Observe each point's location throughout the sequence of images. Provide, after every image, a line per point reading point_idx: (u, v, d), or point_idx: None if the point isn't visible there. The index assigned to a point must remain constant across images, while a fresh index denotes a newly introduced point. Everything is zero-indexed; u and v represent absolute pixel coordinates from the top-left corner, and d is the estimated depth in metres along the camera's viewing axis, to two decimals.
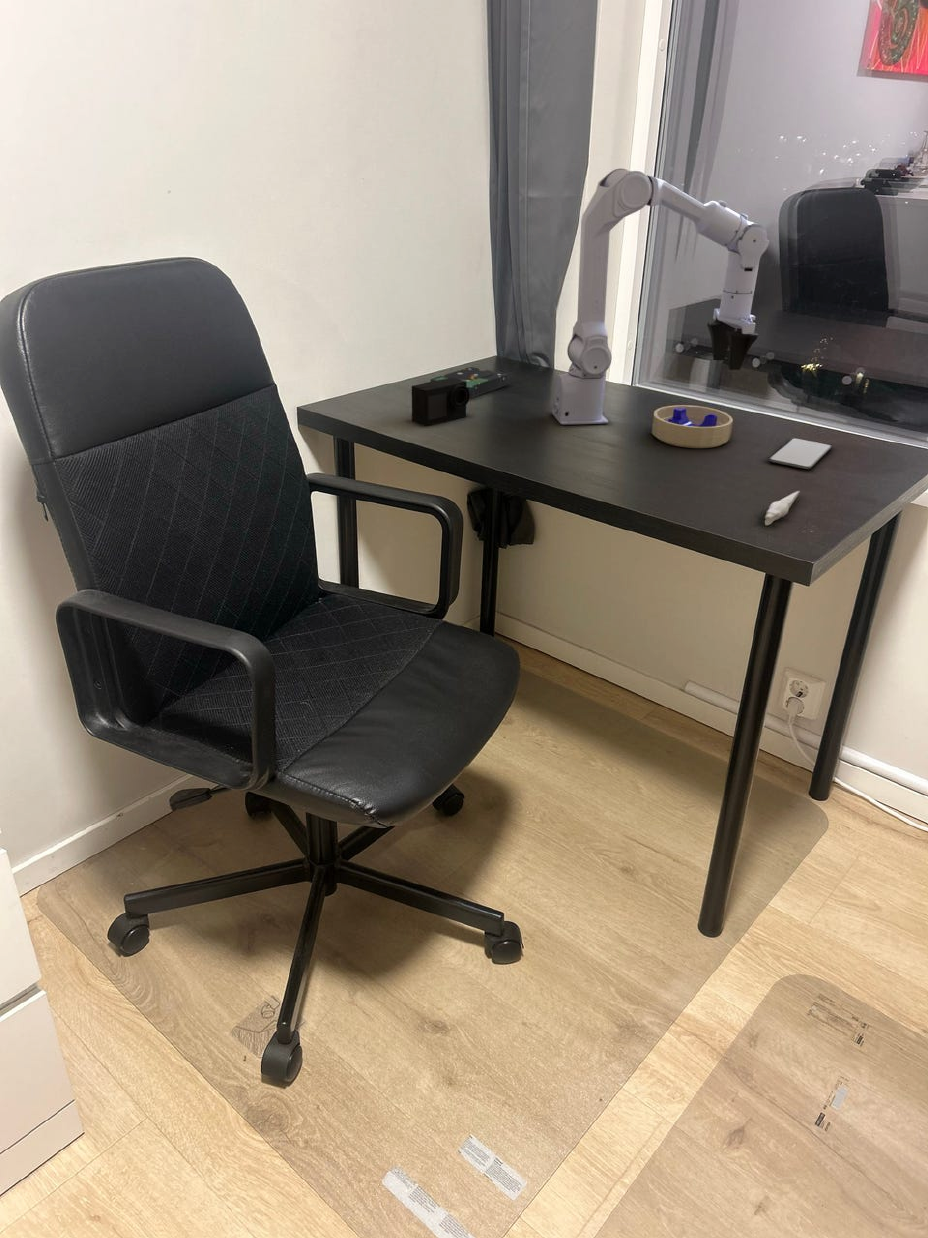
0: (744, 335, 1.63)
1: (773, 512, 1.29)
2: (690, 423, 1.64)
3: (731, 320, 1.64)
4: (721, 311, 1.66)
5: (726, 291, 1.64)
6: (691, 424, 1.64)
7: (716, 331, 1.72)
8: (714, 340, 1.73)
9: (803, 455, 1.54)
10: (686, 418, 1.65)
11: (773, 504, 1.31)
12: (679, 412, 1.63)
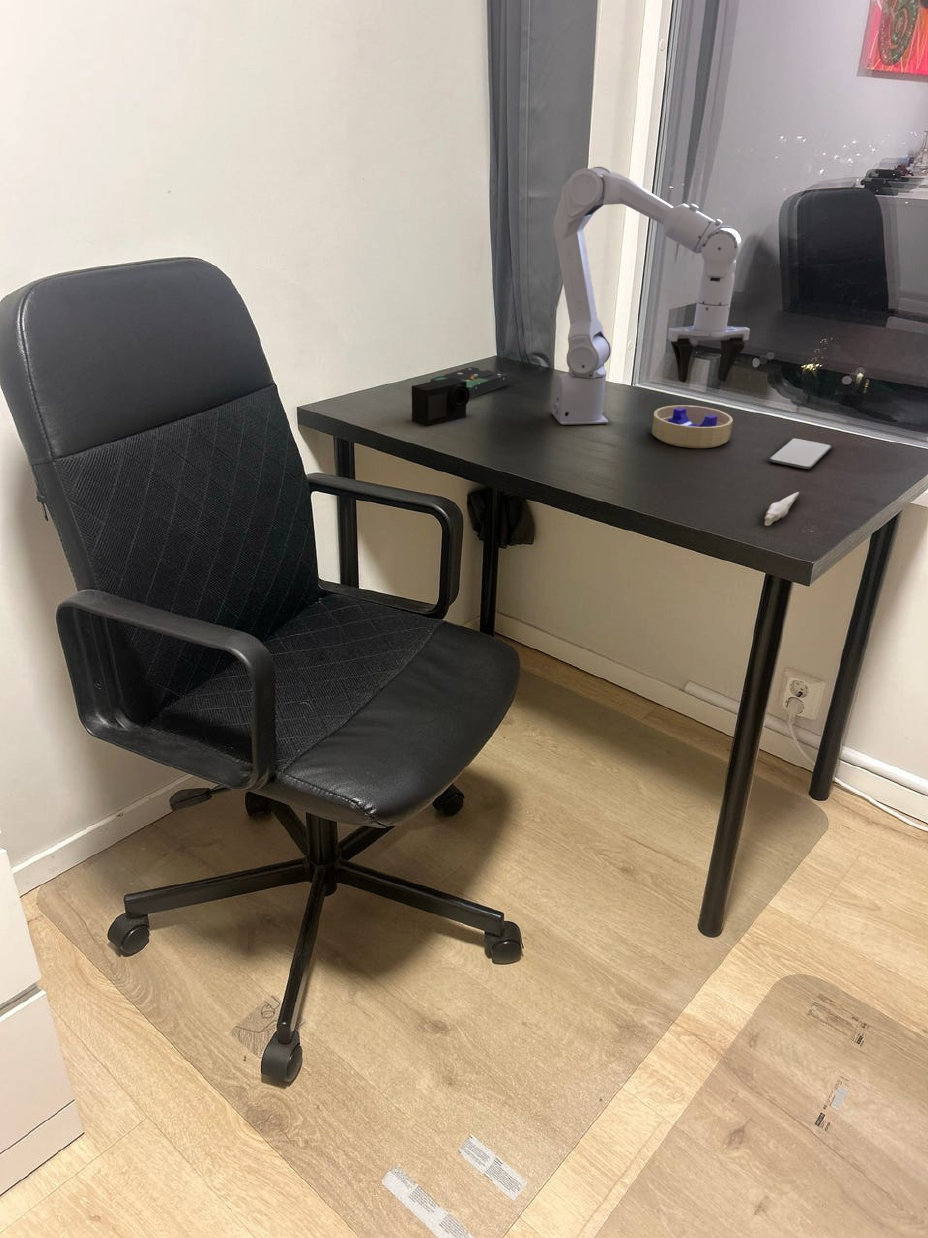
0: (674, 342, 1.57)
1: (773, 513, 1.29)
2: (690, 423, 1.64)
3: None
4: None
5: None
6: (691, 424, 1.64)
7: (722, 347, 1.60)
8: None
9: (803, 455, 1.54)
10: (686, 418, 1.65)
11: (773, 505, 1.31)
12: (679, 412, 1.63)
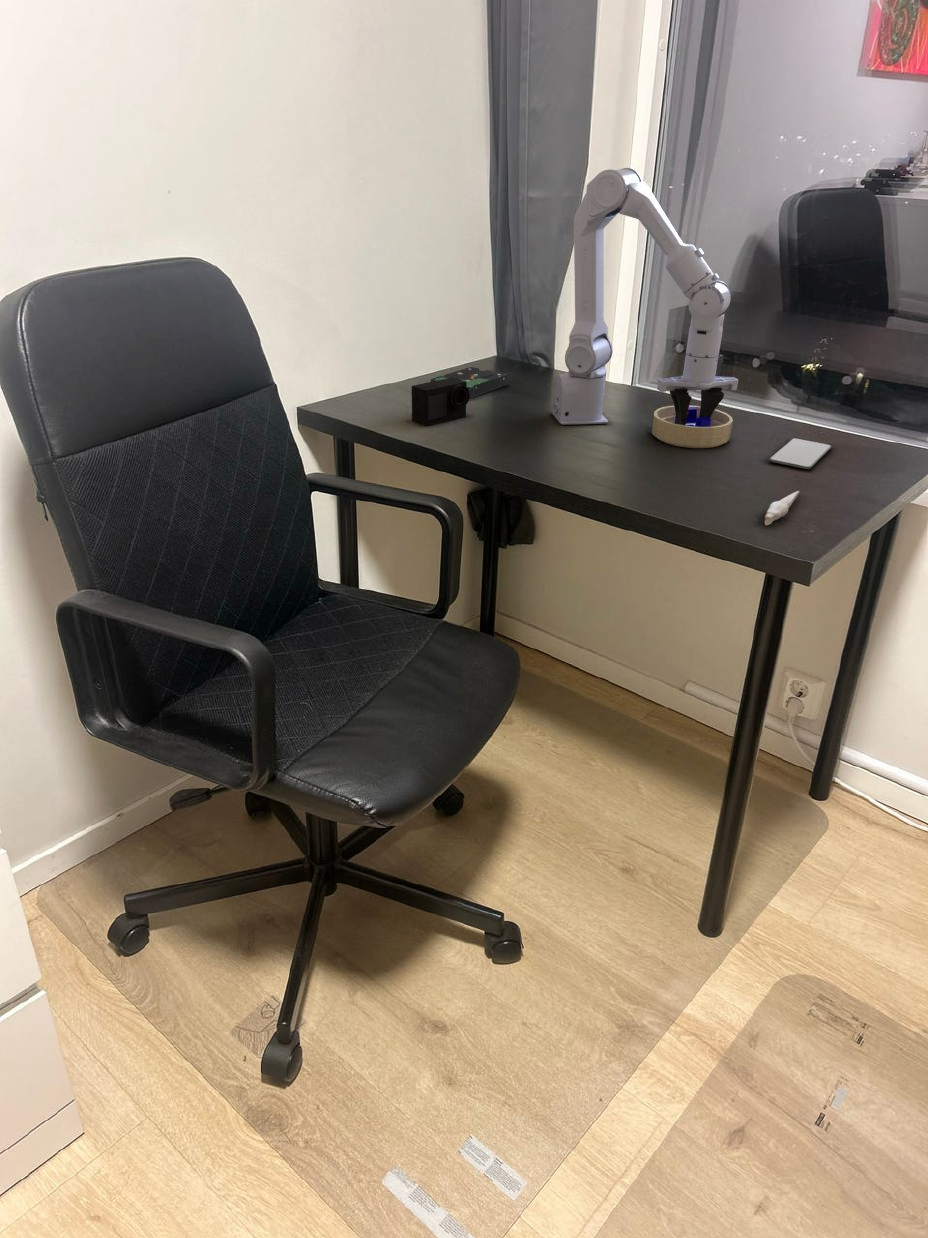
0: (673, 392, 1.60)
1: (773, 512, 1.29)
2: (695, 424, 1.64)
3: None
4: None
5: None
6: (695, 425, 1.64)
7: (702, 396, 1.62)
8: None
9: (803, 455, 1.54)
10: (694, 418, 1.64)
11: (773, 504, 1.31)
12: None
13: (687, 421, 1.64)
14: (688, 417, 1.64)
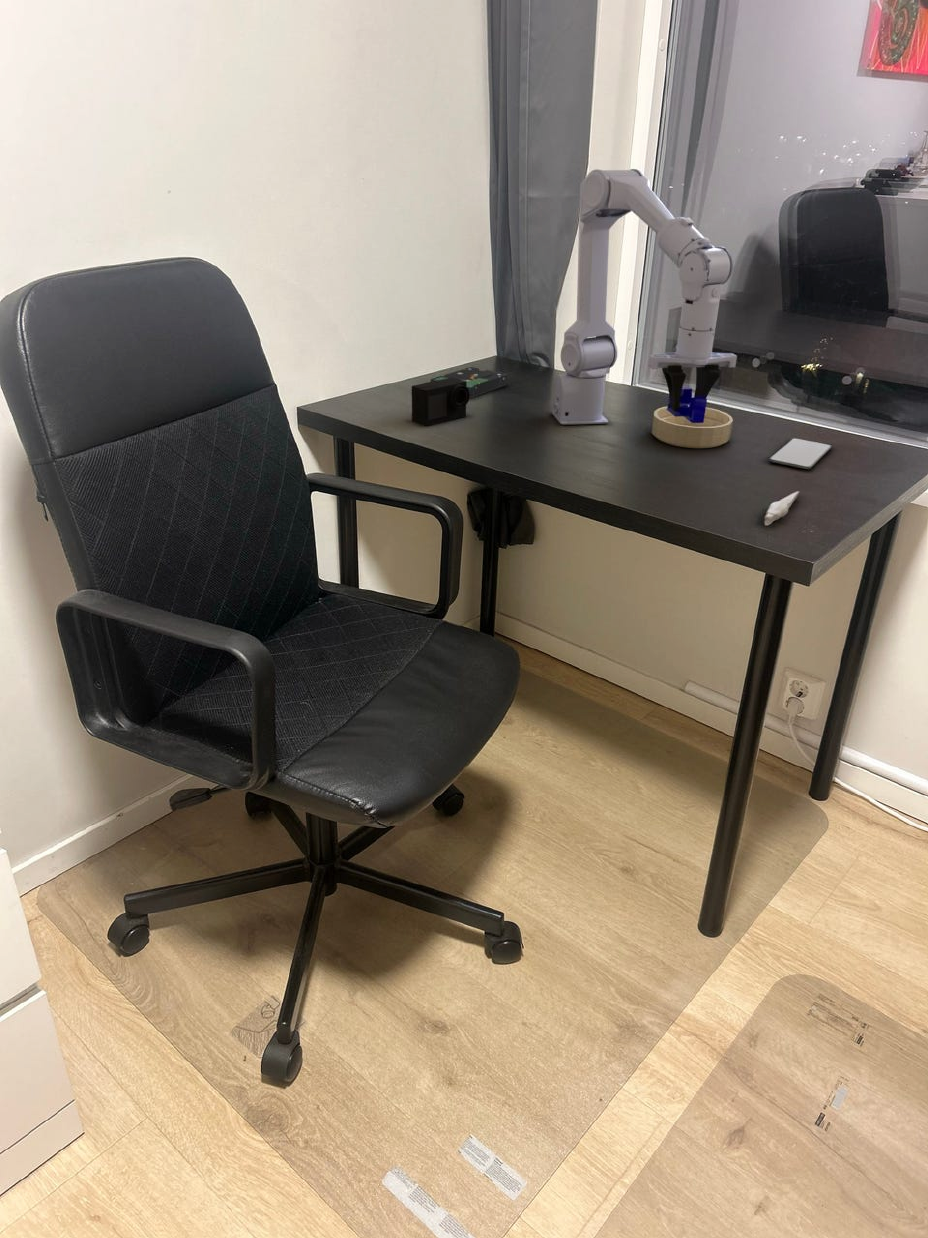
0: (665, 369, 1.46)
1: (773, 512, 1.29)
2: (690, 405, 1.50)
3: None
4: None
5: None
6: (690, 406, 1.50)
7: (697, 374, 1.49)
8: (696, 384, 1.50)
9: (803, 455, 1.54)
10: (689, 399, 1.51)
11: (773, 504, 1.31)
12: None
13: (681, 402, 1.51)
14: (682, 397, 1.51)
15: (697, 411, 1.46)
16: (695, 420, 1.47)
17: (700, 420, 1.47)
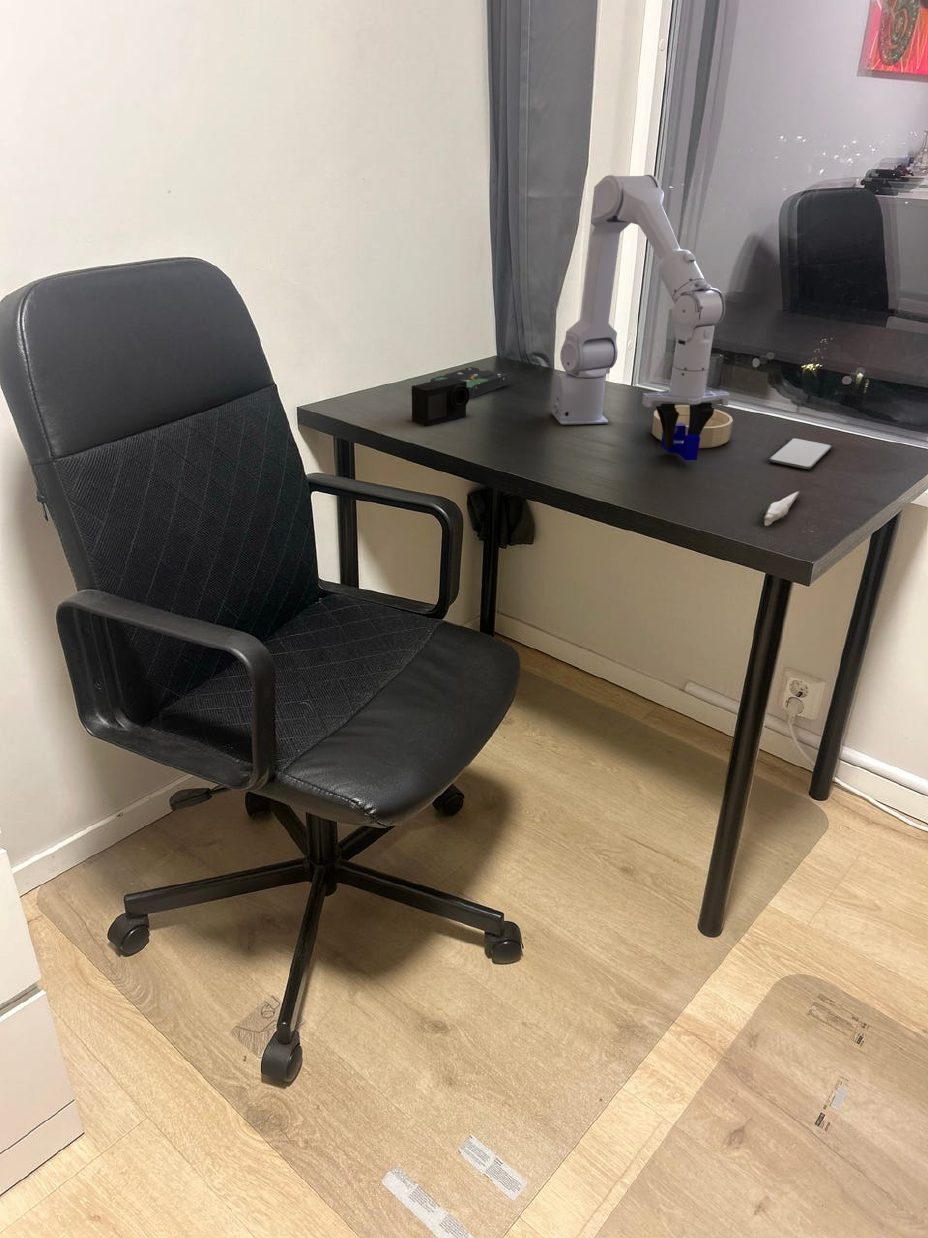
0: (659, 407, 1.48)
1: (773, 513, 1.29)
2: (684, 441, 1.52)
3: None
4: None
5: None
6: None
7: (691, 412, 1.50)
8: (689, 421, 1.51)
9: (803, 455, 1.54)
10: (683, 435, 1.53)
11: (773, 505, 1.31)
12: None
13: (675, 438, 1.52)
14: (676, 434, 1.53)
15: (691, 448, 1.48)
16: (688, 457, 1.49)
17: (693, 457, 1.49)
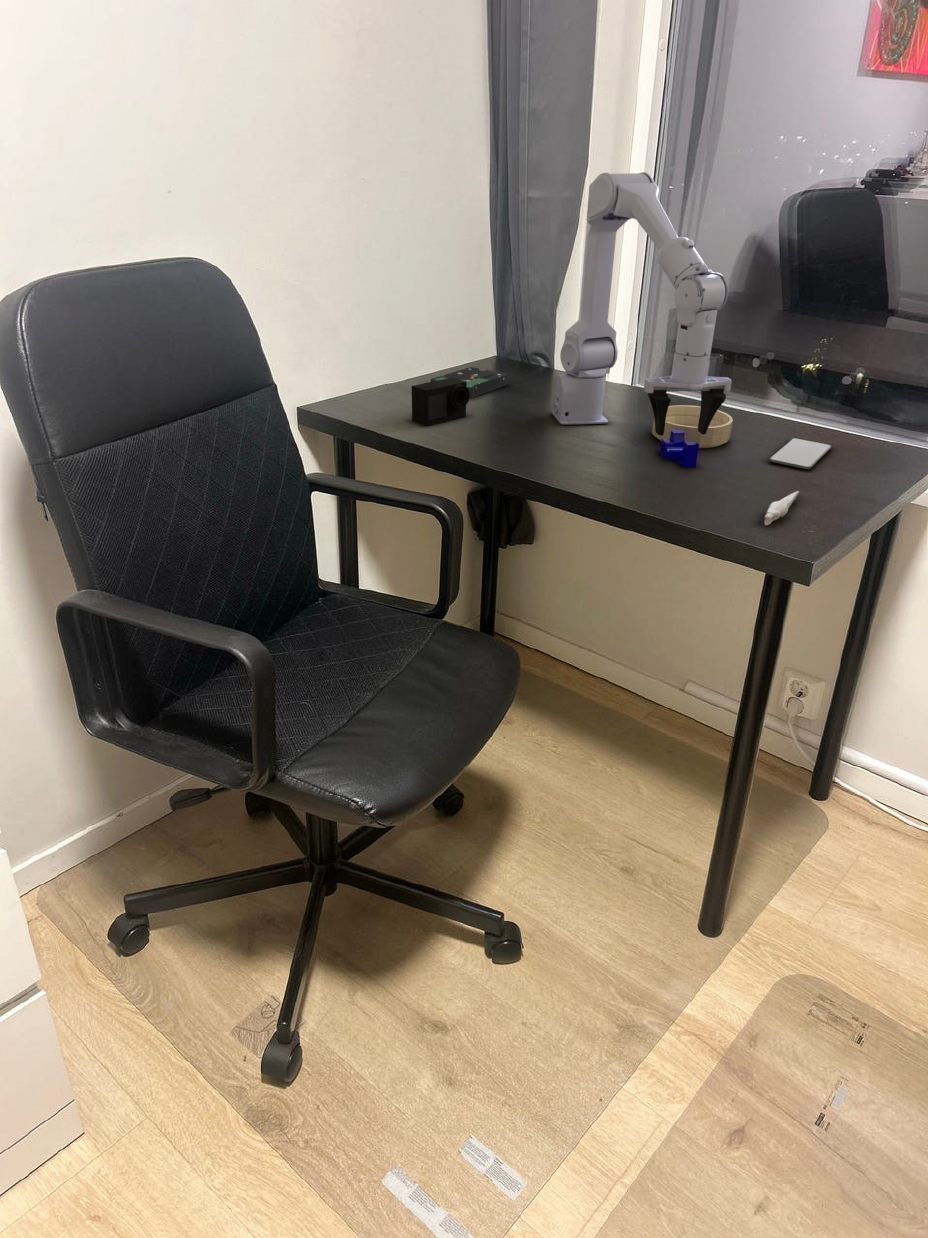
0: (650, 394, 1.47)
1: (773, 512, 1.29)
2: (683, 448, 1.53)
3: None
4: None
5: None
6: None
7: (702, 398, 1.50)
8: (701, 408, 1.51)
9: (803, 455, 1.54)
10: (682, 443, 1.53)
11: (773, 504, 1.31)
12: (673, 434, 1.53)
13: (674, 445, 1.53)
14: (675, 441, 1.53)
15: (690, 456, 1.48)
16: (687, 465, 1.49)
17: (692, 465, 1.49)
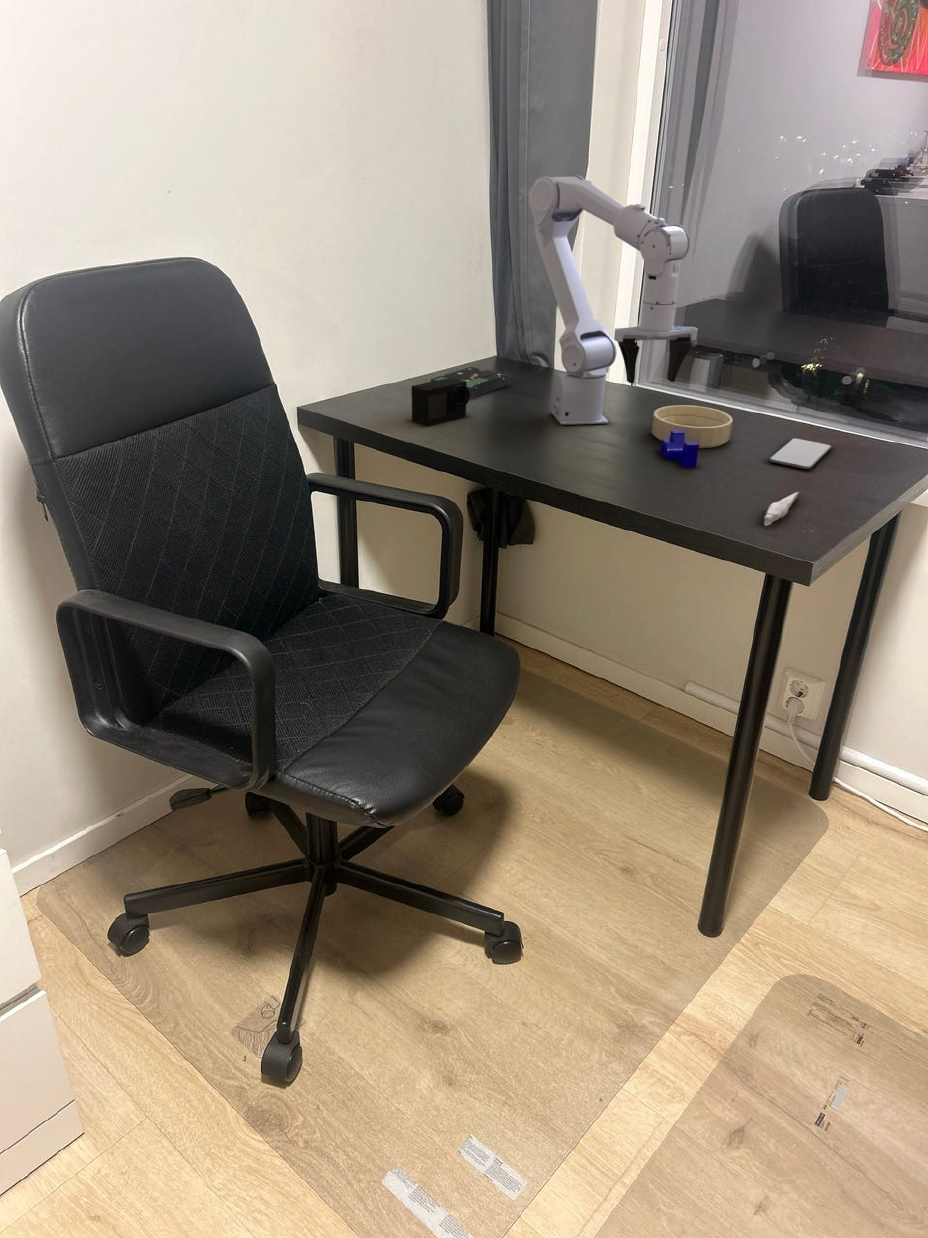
0: (620, 343, 1.54)
1: (772, 513, 1.29)
2: (683, 448, 1.53)
3: None
4: None
5: None
6: None
7: (671, 347, 1.57)
8: (669, 357, 1.58)
9: (803, 455, 1.54)
10: (682, 443, 1.53)
11: (772, 505, 1.31)
12: (673, 434, 1.53)
13: (674, 445, 1.53)
14: (675, 441, 1.53)
15: (690, 456, 1.48)
16: (687, 465, 1.49)
17: (692, 465, 1.49)
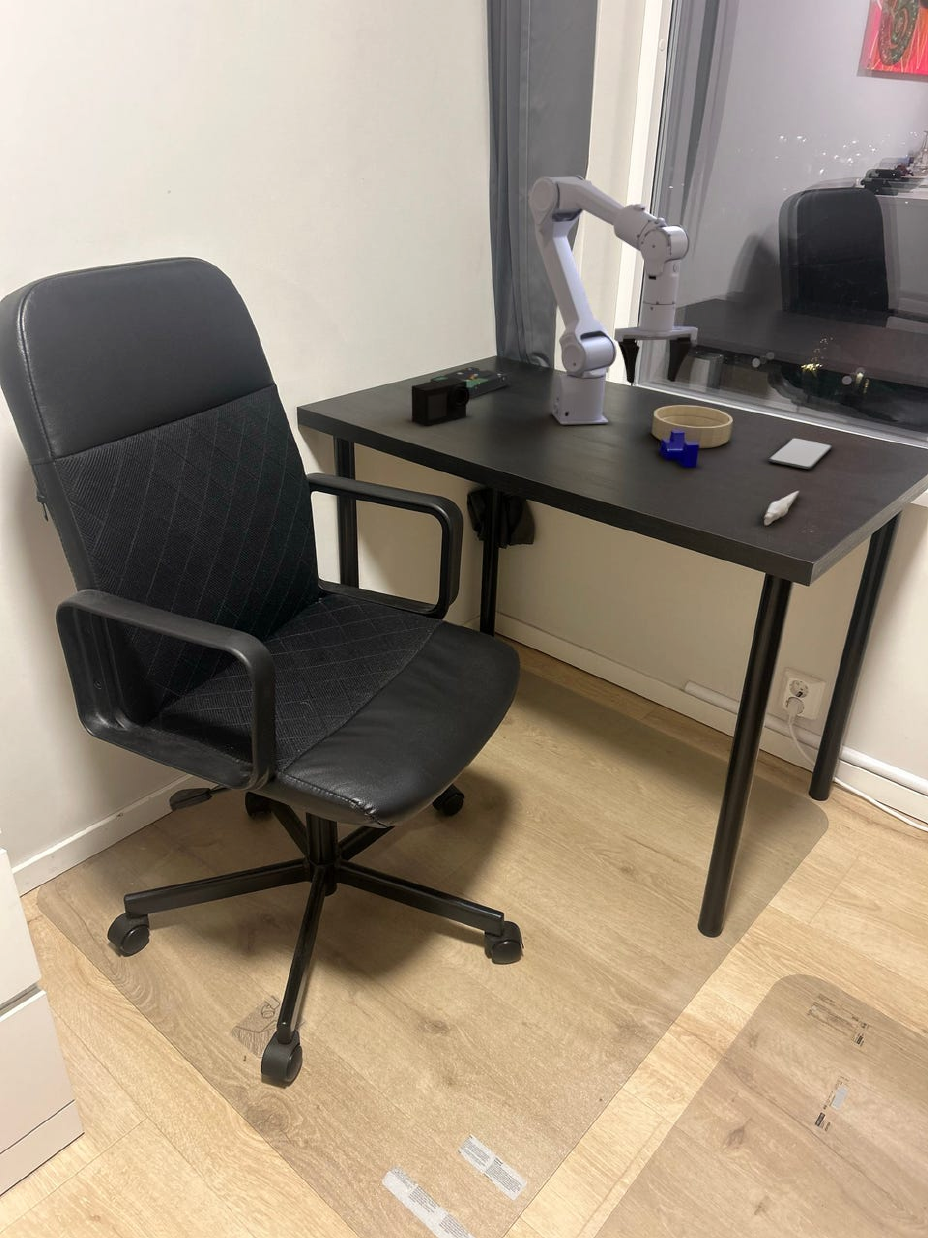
0: (620, 343, 1.54)
1: (772, 512, 1.29)
2: (683, 448, 1.53)
3: None
4: None
5: None
6: None
7: (671, 347, 1.57)
8: (669, 357, 1.58)
9: (803, 455, 1.54)
10: (682, 443, 1.53)
11: (772, 504, 1.31)
12: (673, 434, 1.53)
13: (674, 445, 1.53)
14: (675, 441, 1.53)
15: (690, 456, 1.48)
16: (687, 465, 1.49)
17: (692, 465, 1.49)
